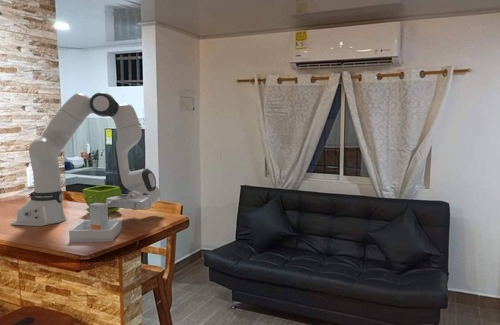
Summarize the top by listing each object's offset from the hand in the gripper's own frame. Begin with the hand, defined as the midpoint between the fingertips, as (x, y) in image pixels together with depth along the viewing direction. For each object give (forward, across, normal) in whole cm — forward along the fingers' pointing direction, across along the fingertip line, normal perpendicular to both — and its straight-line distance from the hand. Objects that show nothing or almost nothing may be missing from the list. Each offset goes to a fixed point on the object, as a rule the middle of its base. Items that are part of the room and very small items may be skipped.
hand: (116, 206), depth 173 cm
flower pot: (-21, -26, +10) cm, 35 cm away
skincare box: (+11, 0, +9) cm, 14 cm away
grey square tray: (+12, 0, +10) cm, 16 cm away
